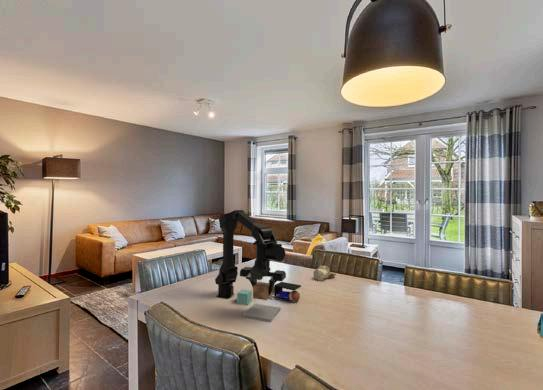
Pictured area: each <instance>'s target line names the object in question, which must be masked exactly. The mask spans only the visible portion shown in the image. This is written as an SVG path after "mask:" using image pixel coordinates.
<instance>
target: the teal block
mask: <svg viewBox="0 0 543 390" xmlns="http://www.w3.org/2000/svg"><path fill="white" fill-rule="evenodd" d="M252 300H253V290H252V289H251V290H250V289H242V288H241V290H239V291H238V292H237V293H236V305H242V306H243V305H244V306H248V305H250V303H251V302H252Z"/></svg>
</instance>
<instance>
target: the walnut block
mask: <svg viewBox="0 0 543 390" xmlns="http://www.w3.org/2000/svg"><path fill="white" fill-rule="evenodd" d="M272 295H273V294H272V292H271V294H270V296H269V282H262V281H257V283H256V284H255V285H254V286H253V287H252V299H254V300H256V299H257V300H263V301H267V300H269V299H270V297H272Z"/></svg>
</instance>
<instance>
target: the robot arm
mask: <svg viewBox="0 0 543 390" xmlns="http://www.w3.org/2000/svg"><path fill="white" fill-rule="evenodd" d="M238 222H239V223H241V224H242V225H243V227H245V228H246V229H247V230H248V231H250V233H251V234H250V235H251V236H252V238H253V239H254V241H253V243H252V245H253V246H255V260H254V265H253V266H243V268H241V269H240V271H238V270H239V267H238V266H236V265H235V263H234V232H235V231H236V229H237V227H238ZM218 223H219V229H220V231H222V264H221V265H220V267H219V269H218V270H219V271H218V275H217V276H216V277H215V278H214V281H215V285H217V287H218V289H217V295H216V298H220V299H221V298H222V299H227V300H228V299H230V298H231V297H232V296H234V295H235V293H234V290H235V289H234V283H236V281H237V278H238V275H239V276H240V277H244V278H245V279H246V280H248V281H249V282H250V284H251V287H252V288H253V286H254V285H255V284H256V283H258V281H261V280H263V277H267V278H268V277H269V280H268V283H269V296H270V294H271V292H272V289H273V287H274V285H275V284H276V283H277V282H284V280H285V279H286V278H287V273H286V271H285V270H279V269H277V270H275V271H271V267H270V263H271V261H272V260H273V261H276V262H282V261H283V260H284V259H285V257H286V250H285V248H284V247H283V246H282V243H280V242H279V243H278V239H277V238H276V236H275V234H274V232H273V229H272V227H270V226H268V225H267V224H263V223H259V222H258V221H256V219H254V218H252V216H250V215H249V214H248V213H246V212H245V210H242V209H234V210H232V211H230V212H227V213H224V214H221V215H220V216H219V218H218ZM238 272H239V273H238ZM270 297H271V296H270Z"/></svg>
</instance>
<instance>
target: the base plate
mask: <svg viewBox="0 0 543 390" xmlns="http://www.w3.org/2000/svg"><path fill="white" fill-rule="evenodd" d="M281 310H282V309H281V307H278V306H271V305H266V304H261V303H260V304H259V303H254V304H253V305H252V306H250V307H249V308H248V309H247V310H246V311H245V312H244V313H243V314H242V317H243V318H248V319H253V320H257V321H258V320H259V321H265V322H269V323H271V322H272V321H273V320H274V319H275V317H276V316H277V315H278V314H279V312H280V311H281Z"/></svg>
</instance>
